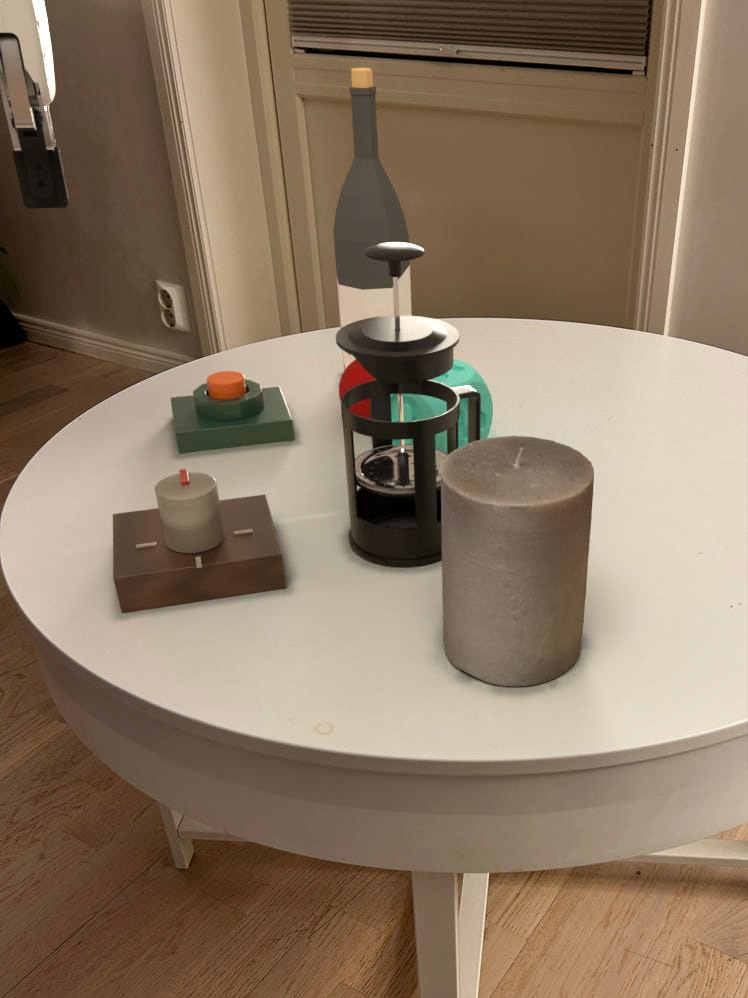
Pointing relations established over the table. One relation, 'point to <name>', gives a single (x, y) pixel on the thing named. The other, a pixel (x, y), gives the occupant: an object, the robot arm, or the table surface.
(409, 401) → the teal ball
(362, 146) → the wine bottle
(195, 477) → the dial knob
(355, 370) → the christmas ornament
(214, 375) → the button
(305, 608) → the table surface
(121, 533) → the dial panel
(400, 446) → the french press
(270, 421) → the button box
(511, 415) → the table surface
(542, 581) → the pillar candle
